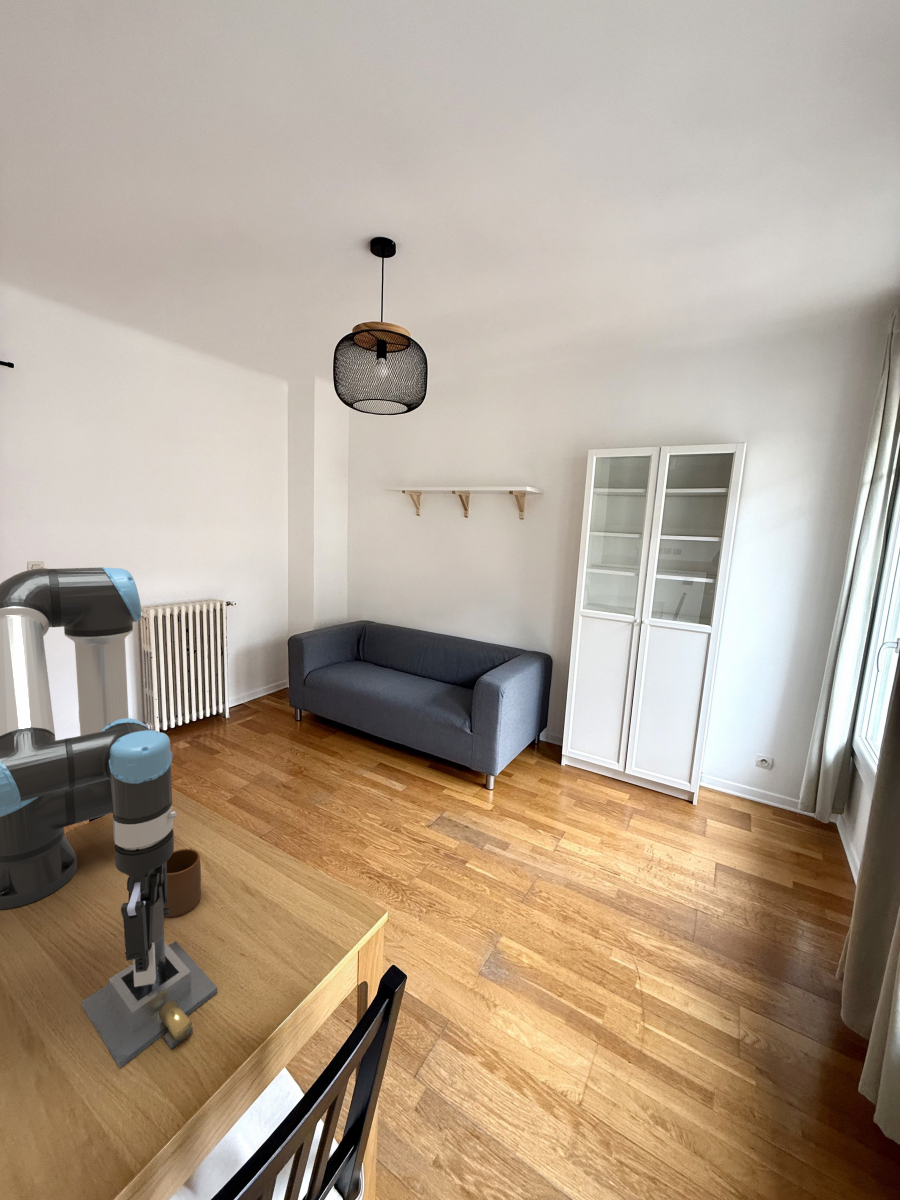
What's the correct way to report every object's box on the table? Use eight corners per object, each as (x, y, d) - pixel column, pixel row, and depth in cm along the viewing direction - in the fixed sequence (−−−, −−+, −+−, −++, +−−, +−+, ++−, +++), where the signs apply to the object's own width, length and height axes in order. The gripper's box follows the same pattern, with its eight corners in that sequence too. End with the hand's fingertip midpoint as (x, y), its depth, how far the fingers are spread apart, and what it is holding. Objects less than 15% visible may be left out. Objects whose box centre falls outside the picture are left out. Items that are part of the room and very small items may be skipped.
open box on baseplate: (82, 1006, 74) (80, 981, 74) (175, 945, 86) (175, 923, 85) (130, 1086, 64) (129, 1058, 64) (229, 1005, 76) (228, 981, 75)
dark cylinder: (132, 1004, 73) (128, 919, 71) (141, 980, 77) (137, 898, 75) (161, 999, 75) (158, 914, 72) (169, 975, 78) (166, 894, 76)
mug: (131, 935, 87) (128, 889, 86) (130, 906, 93) (128, 863, 92) (203, 908, 94) (202, 865, 93) (198, 883, 100) (197, 843, 99)
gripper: (155, 871, 65) (160, 1017, 68) (186, 800, 81) (189, 921, 84) (90, 879, 63) (99, 1029, 66) (135, 805, 79) (141, 929, 82)
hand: (150, 968), depth 75 cm, fingers closed on dark cylinder, 4 cm apart
